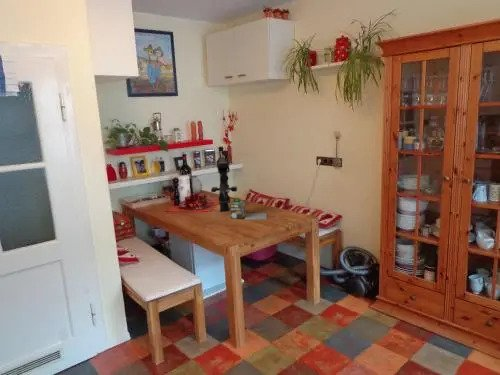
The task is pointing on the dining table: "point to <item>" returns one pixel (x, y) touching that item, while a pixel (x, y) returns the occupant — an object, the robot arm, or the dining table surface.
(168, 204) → the dining table surface
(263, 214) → the mat
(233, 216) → the chalk box
